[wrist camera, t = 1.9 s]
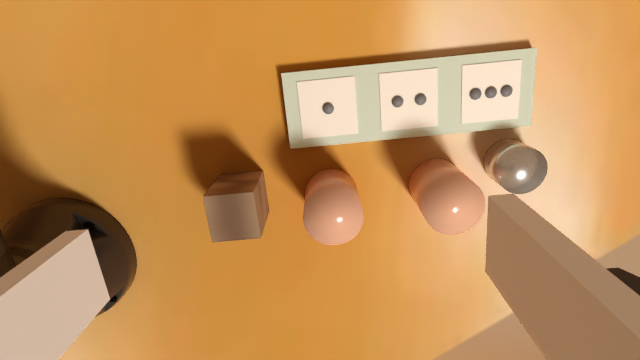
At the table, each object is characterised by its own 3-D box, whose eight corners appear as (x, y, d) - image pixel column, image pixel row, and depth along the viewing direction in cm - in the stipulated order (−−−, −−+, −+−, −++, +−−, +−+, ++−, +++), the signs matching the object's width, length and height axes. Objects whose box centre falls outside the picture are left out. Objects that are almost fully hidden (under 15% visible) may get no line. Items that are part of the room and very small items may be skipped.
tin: (482, 183, 46) (497, 196, 42) (484, 141, 44) (499, 150, 40) (526, 179, 45) (545, 191, 42) (529, 137, 44) (549, 145, 40)
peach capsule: (308, 218, 47) (306, 247, 40) (302, 171, 45) (300, 192, 38) (358, 214, 47) (365, 242, 40) (355, 166, 45) (361, 187, 38)
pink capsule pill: (409, 210, 47) (424, 237, 40) (408, 161, 45) (423, 181, 38) (460, 205, 46) (484, 232, 40) (461, 156, 44) (486, 175, 38)
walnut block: (227, 214, 47) (212, 242, 40) (219, 174, 45) (202, 196, 38) (269, 210, 47) (260, 238, 40) (263, 170, 45) (253, 192, 38)
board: (291, 146, 44) (290, 149, 43) (281, 72, 41) (280, 73, 40) (526, 124, 43) (532, 126, 42) (532, 47, 41) (538, 47, 39)
